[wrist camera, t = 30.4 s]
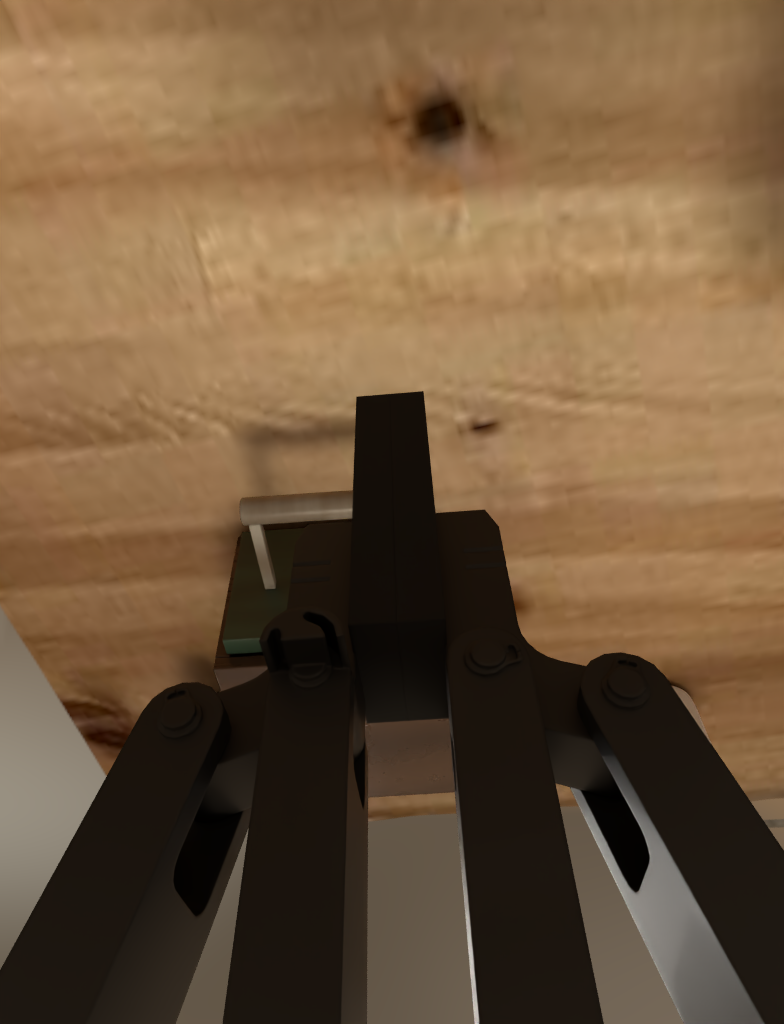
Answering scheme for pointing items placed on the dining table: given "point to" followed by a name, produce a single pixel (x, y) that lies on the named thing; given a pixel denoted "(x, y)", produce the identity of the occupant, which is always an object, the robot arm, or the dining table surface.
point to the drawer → (271, 561)
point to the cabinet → (369, 733)
